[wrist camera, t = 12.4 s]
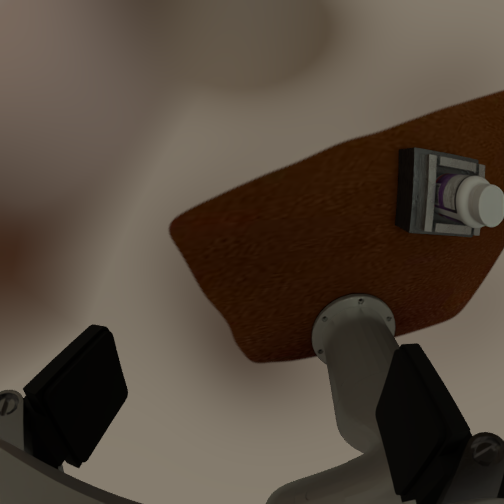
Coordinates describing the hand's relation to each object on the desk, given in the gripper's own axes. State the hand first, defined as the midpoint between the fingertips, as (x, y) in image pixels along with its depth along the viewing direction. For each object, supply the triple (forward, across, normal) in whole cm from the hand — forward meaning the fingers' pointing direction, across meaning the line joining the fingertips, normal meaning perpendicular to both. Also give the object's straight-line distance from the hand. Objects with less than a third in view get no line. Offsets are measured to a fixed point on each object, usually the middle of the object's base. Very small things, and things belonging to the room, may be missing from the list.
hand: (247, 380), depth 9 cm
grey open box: (+30, -21, -5) cm, 37 cm away
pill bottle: (+26, -21, -5) cm, 33 cm away
